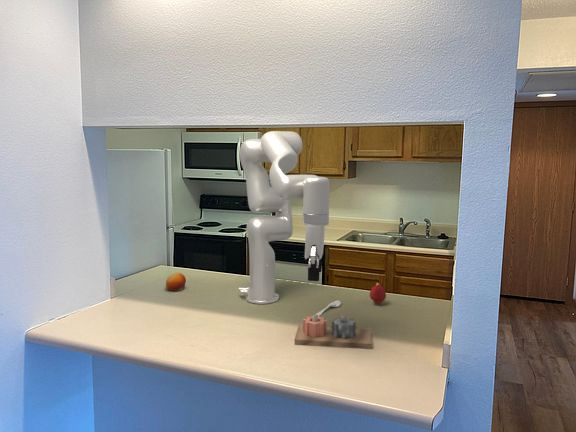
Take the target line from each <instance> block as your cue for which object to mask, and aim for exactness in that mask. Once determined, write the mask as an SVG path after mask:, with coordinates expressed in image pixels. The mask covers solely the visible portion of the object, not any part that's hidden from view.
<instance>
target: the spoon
mask: <svg viewBox="0 0 576 432" xmlns="http://www.w3.org/2000/svg"><path fill="white" fill-rule="evenodd" d="M341 303H342V302H341V301H340V300H334V301H332V302H330V303H328V304H327V306H326V307H324V308H322V310H319V311H318V312H317V313H315V314H314V315H318V317H320V316H322V314H323V313H324V312H325V311H326V310H327V309H329V308H330V307H332V308H338V307H340V306H341Z"/></svg>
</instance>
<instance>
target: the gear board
mask: <svg viewBox="0 0 576 432" xmlns="http://www.w3.org/2000/svg"><path fill="white" fill-rule="evenodd" d="M311 317H312V322H318V315H315V314H312V316H311ZM340 317H341V318H337V317H335V318H334V320H332V321H331V326H327V329H326V334H324V336H322V337H320V336H318V337H312V336H306V335H305V333H303V325H299V324H298V325H297V330H296V334H295V336H294V341H293V342H294V345H295V346H296V345H298V346H299V345H301V346H314V347H315V346H316V347H333V348H348V349H349V348H351V349H366V350H372V348H373V343H372V341H373V340H372V335H371V334H372V333H371V328H356V321H354V319H353V318H347V314H343V313H342V314H341V315H340Z"/></svg>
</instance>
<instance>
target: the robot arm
mask: <svg viewBox="0 0 576 432" xmlns="http://www.w3.org/2000/svg"><path fill="white" fill-rule="evenodd" d="M302 150H303V140H302V138H301V135H300V134H298V132H296V131H289V130H287V131H286V130H285V131H284V130H283V131H282V130H272V131H267V132H266V133H264V134H262V136H261V138H251V139H245V140H244V141H242V143H241V145H240V147H239V160H240V164H241V167H242V169H243V170H242V171H244V172H243V173H244V175H245V183H246V195H247V203H248V208H249V210H250V211H251V212H253V213H259V214H262V213H275V214H276V215H261V216H259V215H258V216H255V217H251V218H250V219H249V220H248V221H247V224H246V233H247V239H248V249H249V250H248V253H249V286H247V287H244V286H239V287H238V292H239V293H240V294H246V295H245V300H246V301H247V302H249V303H252V304H258V305H268V304H272V303H276V302H277V301H279V299H280V295H279V294H278V293H277V292H276V256H275V255H276V253H275V251H274V249H273V248H272V245H270V243H271V242H276V241H285V240H289V239H290V238H291V237H292V235H293V231H294V224H293V214H292V206H291V205H292V203H291V201H295V200H298V201H299V200H302V203H303V204H302V205H303V206H302V207H303V209H302V224H303V225H304V226H306V227H305V238H304V241H305V242H304V243H305V244H304V259H305V260H307V259H308V267H307V281H308V282H319V281H320V273H321V272H323V271H322V269H323V267H322V265H323V261H322V257H323V255H324V247H325V246H324V245H325V231H326V230H325V229H326V226H329V224H330V221H329V220H330V180H329V178H328V177H325V176H318V175H315V174H288V173H289V172H292V171H293V170H294V169H295V167H296V166H297V164H298V161H299V158H298V155H300V154H301V152H302ZM261 163H271V166H270V169H269V173H268V172H267V170H266V169H265V167H264V166H263V165H262V164H261ZM270 185H271V186H270ZM269 242H270V243H269Z"/></svg>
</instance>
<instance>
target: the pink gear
mask: <svg viewBox="0 0 576 432" xmlns="http://www.w3.org/2000/svg"><path fill="white" fill-rule="evenodd" d="M327 321H328V320H327V319H325V317H323V316H322V317H320V316H319V317H318V322H312V316H306V318H303V321H302V324H303V325H302V326H303V333H305V335H306V336H312V337H318V336H320V337H322V336H324V334H326V329H327V327H328V325H327Z"/></svg>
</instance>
